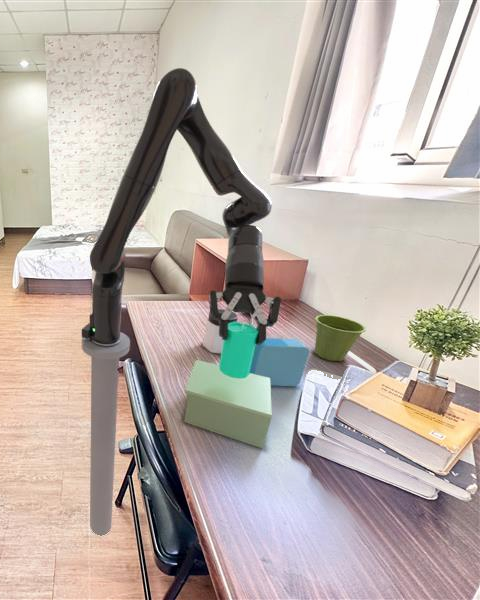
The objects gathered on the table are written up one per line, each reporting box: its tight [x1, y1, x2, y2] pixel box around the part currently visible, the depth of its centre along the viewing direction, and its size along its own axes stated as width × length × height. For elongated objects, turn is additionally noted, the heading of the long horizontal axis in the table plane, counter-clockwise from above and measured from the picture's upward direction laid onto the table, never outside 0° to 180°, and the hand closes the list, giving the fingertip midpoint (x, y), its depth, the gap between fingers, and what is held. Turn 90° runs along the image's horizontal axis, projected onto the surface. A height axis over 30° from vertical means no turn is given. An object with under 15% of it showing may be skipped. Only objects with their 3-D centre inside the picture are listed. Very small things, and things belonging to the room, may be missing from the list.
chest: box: [183, 394, 272, 449], centre depth 71 cm, size 16×14×8 cm
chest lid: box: [184, 359, 273, 419], centre depth 69 cm, size 16×14×1 cm
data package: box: [249, 337, 310, 387], centre depth 82 cm, size 12×4×12 cm, turn 86°
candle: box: [218, 320, 259, 379], centre depth 66 cm, size 6×6×12 cm
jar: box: [202, 308, 239, 355], centre depth 98 cm, size 9×8×12 cm
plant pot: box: [314, 314, 367, 362], centre depth 94 cm, size 12×12×11 cm
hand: (241, 341), depth 63 cm, fingers closed on candle, 6 cm apart
